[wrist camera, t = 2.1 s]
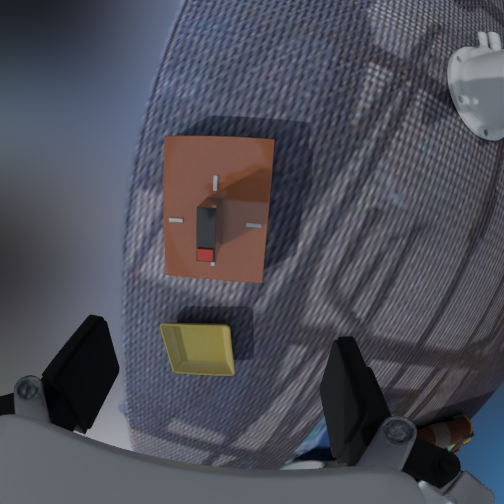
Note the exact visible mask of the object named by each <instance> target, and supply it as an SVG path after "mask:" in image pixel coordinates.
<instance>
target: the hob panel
mask: <svg viewBox="0 0 504 504" xmlns="http://www.w3.org/2000/svg"><path fill="white" fill-rule="evenodd" d="M274 144H275V140H274V139H265V138H251V137H233V136H165V147H164V239H165V261H166V275H174V276H184V277H194V278H205V279H216V280H228V281H240V282H252V283H262V282H263V272H264V261H265V250H266V239H267V228H268V217H269V205H270V194H271V182H272V169H273V157H274ZM206 198H220V199H223V220H222V246H221V248H220V251H219V253H218V256H217V258H216V261H215V262H203V261H196V215H197V206H198V205H199V204H200V203H202V202H203V201H204V200H205V199H206Z"/></svg>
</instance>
